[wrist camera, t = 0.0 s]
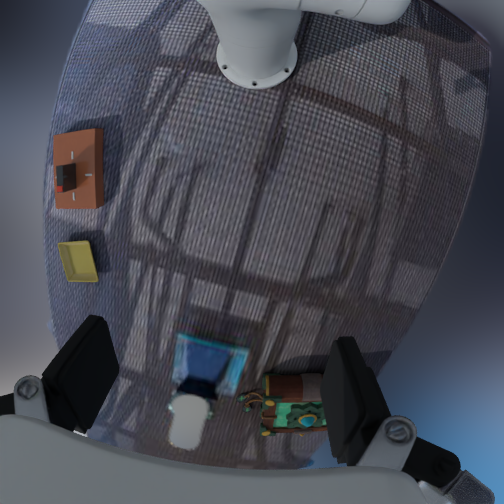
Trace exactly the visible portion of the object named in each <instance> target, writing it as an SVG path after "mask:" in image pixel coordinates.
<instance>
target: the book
mask: <svg viewBox="0 0 504 504" xmlns="http://www.w3.org/2000/svg"><path fill="white" fill-rule="evenodd" d="M323 375H324V374H320V373H305V374H300V375H280V374H270V373H263V383H262V389H264V393H263V396H261V395H260V394H259V393H256V392H250V393H249V394H241V395H239V396H238V397H237V398H236V400H237V402H243V401H245V400H246V399H247V398H249V397H250V395H251V394H256V395H258V396H259V397H260V398H261V399H252V400H250V401H248V402H246V403H245V404H246V405H244V406H243V411H244V412H250V411H251V406H250V405H249V403H250V402H253V401H261V402H263V404H261V407H260V417H261V418H262V419H263V423H261V425H260V436H275V435H276V433H292V432H293V433H294V434H299V435H301V436H303V435H304V434H309V433H311V432H312V431H325V430H327V425H326V420H325V415H324V410H323V405H322V400H321V396H320V384H321V381H322V378H323ZM262 399H263V400H262Z"/></svg>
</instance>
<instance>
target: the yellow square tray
mask: <svg viewBox="0 0 504 504" xmlns="http://www.w3.org/2000/svg"><path fill="white" fill-rule="evenodd" d="M58 248H59V252H60V256H61V260H62V263H63V267H64V270H65V274H66V277H67V280H68V281H69V282H98V280H99V279H98V273H97V270H96V266H95V262H94V258H93V254H92V249H91V245H90V242H89V241H87V240H86V241H74V242H62V243H58Z"/></svg>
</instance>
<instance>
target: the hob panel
mask: <svg viewBox="0 0 504 504" xmlns="http://www.w3.org/2000/svg"><path fill="white" fill-rule="evenodd" d="M103 131H104V129H102V128H93V129H86V130H80V131H74V132H68V133H63V134H58V135H54V147H53V158H54V187H55V201H56V209H97V208H99V207H101V206H103V205H104V187H103ZM70 163H76V187H77V188H76V189H73V190H70V191H67V192H64V193H57V178H56V166H59V165H64V164H70Z"/></svg>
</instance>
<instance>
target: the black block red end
mask: <svg viewBox="0 0 504 504" xmlns="http://www.w3.org/2000/svg"><path fill="white" fill-rule="evenodd" d="M56 178H57V193H64V192H67V191H70V190H73V189H76V188H77V187H76V163H70V164H64V165H59V166H56Z"/></svg>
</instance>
